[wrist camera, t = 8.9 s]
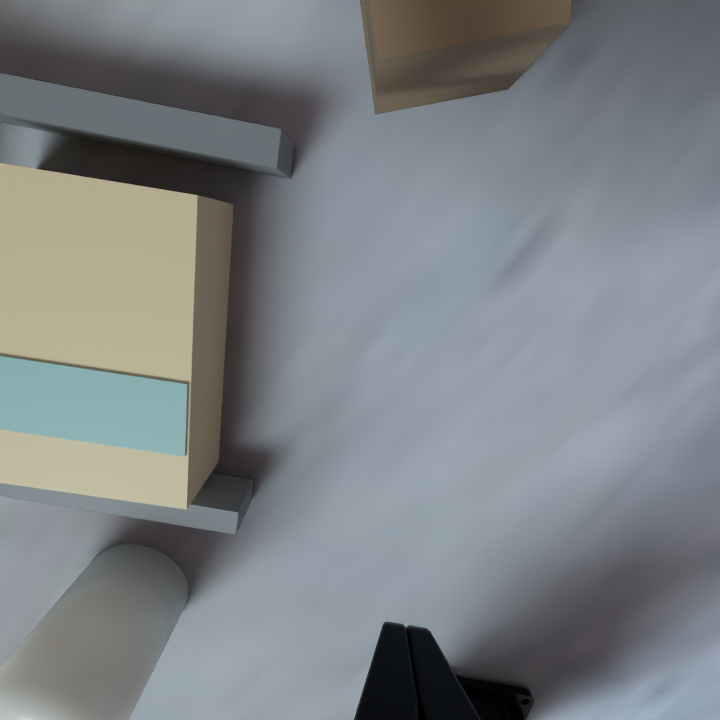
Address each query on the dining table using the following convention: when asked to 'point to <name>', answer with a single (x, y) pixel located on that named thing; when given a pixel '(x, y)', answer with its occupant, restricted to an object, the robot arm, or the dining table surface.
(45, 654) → the cylindrical block
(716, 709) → the dining table surface
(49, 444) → the carton
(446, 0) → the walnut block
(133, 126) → the frame
